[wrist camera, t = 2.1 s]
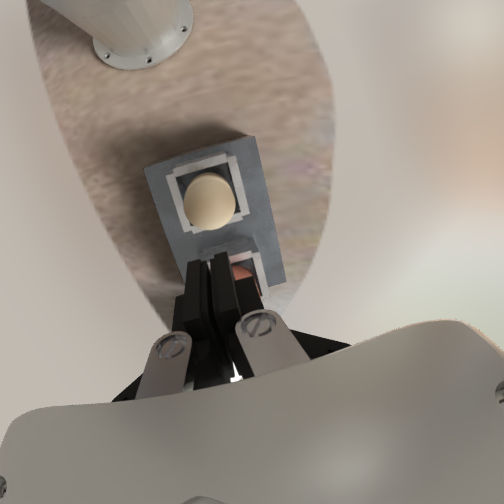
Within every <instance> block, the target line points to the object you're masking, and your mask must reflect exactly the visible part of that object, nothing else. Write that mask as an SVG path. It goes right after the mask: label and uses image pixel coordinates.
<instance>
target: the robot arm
mask: <svg viewBox="0 0 504 504" xmlns="http://www.w3.org/2000/svg"><path fill="white" fill-rule="evenodd" d="M39 1H41V2H43V3H44V4H46V5H48V6H49V7H51V8H53V9H54V10H56V11H57V12H59V13H60V14H61V15H63V16H64V17H65V18H67V19H68V20H70V21H71V22H73V23H74V24H76V25H77V26H78V27H80V28H81V29H83V30H84V31H85V32H87V33H88V34H89V35H91V36H92V37H93V46H94V49H95V52H96V53H97V55H98V56H99V58H100V59H101V60H103V61H104V62H105V63H106V64H108V65H110V66H112V67H114V68H116V69H121V70H131V71H135V70H142V69H146V68H150V67H153V66H155V65H158V64H160V63H162V62H164V61H165V60H167V59H168V58H170V57H171V56H173V55H174V54H175V53H176V52H177V51H178V50H179V49H180V48H181V47H182V46H183V45H184V43H185V42H186V40H187V39H188V37H189V35H190V33H191V30H192V27H193V10H192V7H191V4H190V2H189V1H188V0H39ZM183 30H186V32H182V31H183ZM108 56H110V57H109V58H108ZM149 60H152V61H151V62H150V63H148V61H149ZM210 271H211V272H210ZM233 363H234V365H235V368H236V370H237V372H238V375H239V376H242V377H243V380H239V381H235V382H231V379H230V378H234V377H235V372H234V366H233ZM0 504H504V351H503V350H502V349H501V348H500V347H499V346H498V345H497V344H496V343H494V342H493V341H492V340H491V339H490V338H489V337H487V336H486V335H485V334H484V333H482V332H481V331H480V330H478V329H477V328H476V327H474V326H472V325H470V324H469V323H466V322H464V321H461V320H457V319H437V320H429V321H423V322H419V323H415V324H410V325H407V326H404V327H401V328H398V329H395V330H392V331H389V332H386V333H384V334H381V335H379V336H376V337H373V338H371V339H368V340H365V341H363V342H360V343H357V344H355V345H349V344H347V343H342V342H338V341H334V340H330V339H326V338H322V337H318V336H314V335H310V334H306V333H302V332H298V331H294V330H290V329H289V328H288V327H287V325H286V324H285V323H284V321H283V320H282V318H281V317H280V315H278V314H277V313H276V312H274V311H272V310H266V309H264V307H263V304H262V301H261V298H260V295H259V292H258V289H257V286H256V283H255V280H254V277H253V276H249V277H246V278H242V279H239V280H236V279H235V276H234V273H233V270H232V266H231V263H230V260H229V256H228V253H227V251H225V252H221V253H218V254H214V258H213V259H210V269H209V267H208V264H207V261H201V259H197V260H193V261H190V262H187V270H186V281H185V293H184V295H180V296H177V297H176V299H175V307H174V316H173V325H172V332H171V333H168V334H166V335H163V336H162V337H161V338H159V339H158V340H157V341H156V342H155V343H154V345H153V347H152V349H151V351H150V354H149V357H148V360H147V363H146V366H145V369H144V372H143V374H141V376H139V377H138V378H137V379H136V380H135V381H134V382H132V383H131V384H130V385H129V386H128V387H127V388H126V389H125V390H123V391H122V392H121V393H120V394H119V395H118V396H117V397H115V398H114V399H113V400H112V402H110V403H98V404H83V405H67V406H52V407H45V408H39V409H36V410H32V411H29V412H27V413H25V414H23V415H21V416H19V417H17V418H16V419H15V420H14V421H12V423H11V424H10V426H9V428H8V430H7V432H6V434H5V437H4V439H3V441H2V445H1V447H0Z"/></svg>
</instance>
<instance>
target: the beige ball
mask: <svg viewBox="0 0 504 504" xmlns="http://www.w3.org/2000/svg"><path fill="white" fill-rule="evenodd" d="M183 208H184V213H185V215H186V217H187V219H188V220H189V222H190V223H191V224H193V225H194V226H196V227H197V228H200V229H203V230H214V229H218V228H220V227H222V226H224V225H225V224H227V223H228V222H229V221H230V219H231V218H232V216H233V214H234V211H235V198H234V195H233V193H232V190H231V188H230V186H229V184H228V182H227V181H226V180H225V178H223V177H222V176H221V175H219V174H216V173H212V172H206V173H202V174H199V175H197V176H196V177H194V178H193V179H192V180H191V182H190V183H189V185H188V187H187V191H186V194H185V198H184V203H183Z"/></svg>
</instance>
